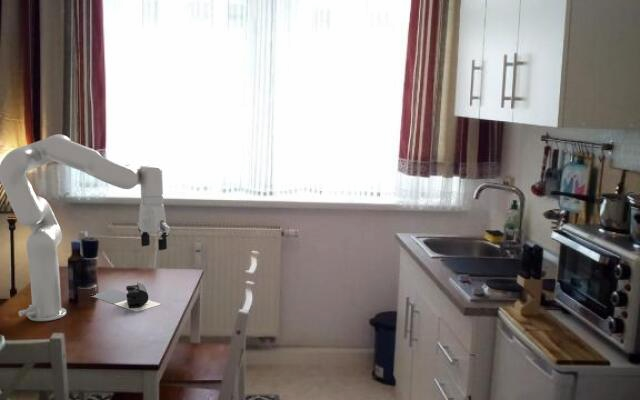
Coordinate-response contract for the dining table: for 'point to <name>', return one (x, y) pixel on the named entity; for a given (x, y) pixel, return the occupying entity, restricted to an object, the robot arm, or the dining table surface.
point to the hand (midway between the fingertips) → (154, 247)
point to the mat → (112, 296)
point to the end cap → (136, 295)
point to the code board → (145, 306)
